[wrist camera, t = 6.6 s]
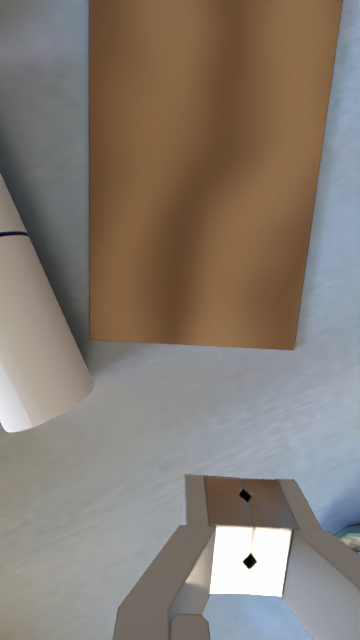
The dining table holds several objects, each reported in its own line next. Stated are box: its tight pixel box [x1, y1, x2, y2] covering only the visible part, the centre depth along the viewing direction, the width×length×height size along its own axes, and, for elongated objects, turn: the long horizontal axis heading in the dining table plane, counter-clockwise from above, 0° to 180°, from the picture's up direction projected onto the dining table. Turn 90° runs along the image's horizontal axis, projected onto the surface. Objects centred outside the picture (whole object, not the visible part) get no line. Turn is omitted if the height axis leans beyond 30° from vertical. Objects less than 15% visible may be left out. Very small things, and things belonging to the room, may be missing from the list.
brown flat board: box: [89, 0, 343, 350], centre depth 24 cm, size 18×29×1 cm, turn 177°
